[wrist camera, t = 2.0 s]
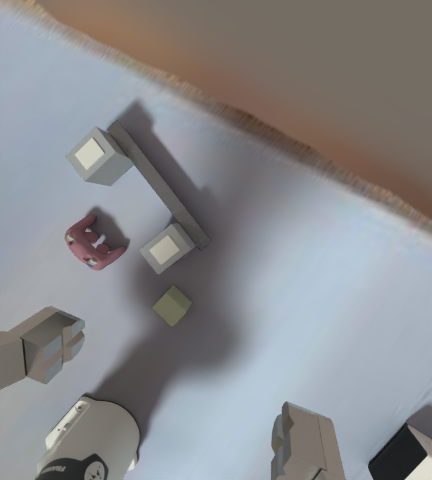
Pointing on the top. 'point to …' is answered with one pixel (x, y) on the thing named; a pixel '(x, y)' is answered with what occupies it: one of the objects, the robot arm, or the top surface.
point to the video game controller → (90, 245)
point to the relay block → (172, 306)
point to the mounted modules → (109, 171)
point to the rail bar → (158, 184)
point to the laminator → (404, 457)
